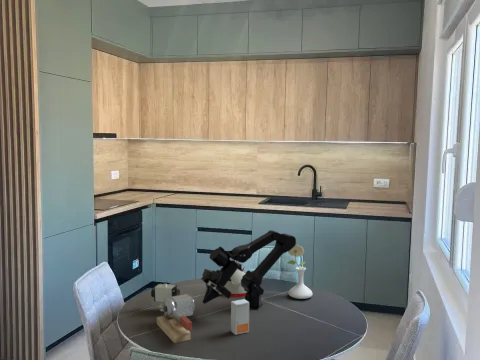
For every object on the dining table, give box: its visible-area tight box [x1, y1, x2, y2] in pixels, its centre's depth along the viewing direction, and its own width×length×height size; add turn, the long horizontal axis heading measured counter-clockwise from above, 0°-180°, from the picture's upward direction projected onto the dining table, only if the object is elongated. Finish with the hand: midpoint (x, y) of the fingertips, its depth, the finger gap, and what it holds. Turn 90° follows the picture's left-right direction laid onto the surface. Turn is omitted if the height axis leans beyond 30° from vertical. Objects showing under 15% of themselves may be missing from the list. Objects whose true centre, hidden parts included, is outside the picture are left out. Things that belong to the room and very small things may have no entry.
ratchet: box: [163, 298, 193, 331], centre depth 174 cm, size 10×24×8 cm, turn 29°
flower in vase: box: [287, 244, 313, 300], centre depth 211 cm, size 13×11×25 cm
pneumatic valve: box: [150, 283, 181, 313], centre depth 194 cm, size 6×12×12 cm, turn 76°
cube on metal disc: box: [171, 293, 196, 317], centre depth 182 cm, size 8×7×7 cm
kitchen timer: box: [224, 261, 246, 298], centre depth 217 cm, size 14×14×15 cm
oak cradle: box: [156, 315, 192, 344], centre depth 173 cm, size 7×20×5 cm, turn 29°
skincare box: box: [230, 298, 250, 336], centre depth 172 cm, size 6×4×12 cm
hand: (203, 302), depth 187 cm, fingers closed
